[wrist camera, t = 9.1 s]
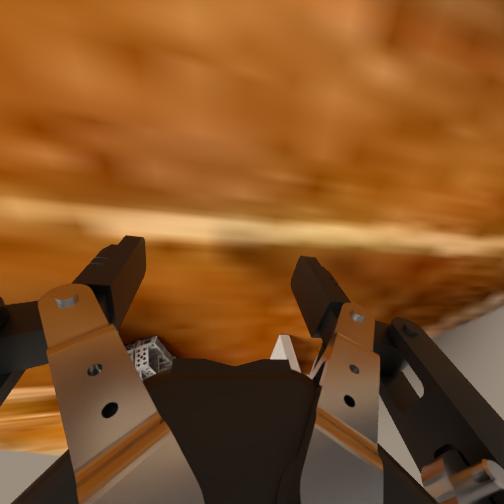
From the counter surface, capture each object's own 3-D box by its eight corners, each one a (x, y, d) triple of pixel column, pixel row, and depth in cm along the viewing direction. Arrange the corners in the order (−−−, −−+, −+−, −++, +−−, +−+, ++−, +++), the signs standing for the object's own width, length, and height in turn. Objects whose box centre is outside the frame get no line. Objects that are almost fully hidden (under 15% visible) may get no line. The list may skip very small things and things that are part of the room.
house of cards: (62, 346, 20) (-15, 454, 14) (149, 318, 20) (114, 415, 13) (121, 392, 25) (85, 489, 18) (192, 370, 24) (182, 461, 18)
